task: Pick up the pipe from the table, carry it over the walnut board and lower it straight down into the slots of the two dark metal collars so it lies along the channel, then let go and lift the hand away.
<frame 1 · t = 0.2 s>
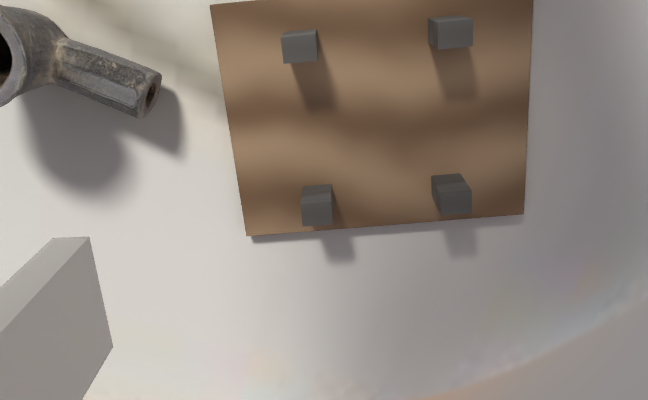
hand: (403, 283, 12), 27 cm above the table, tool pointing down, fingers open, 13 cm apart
collar cradle: (376, 113, 38), on the table
pipe: (71, 51, 37), on the table
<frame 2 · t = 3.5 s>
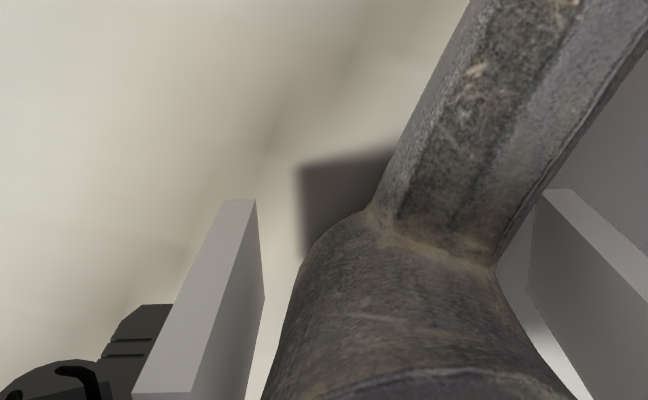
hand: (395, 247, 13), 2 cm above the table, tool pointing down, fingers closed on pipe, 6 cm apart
pipe: (397, 202, 15), on the table, touching gripper
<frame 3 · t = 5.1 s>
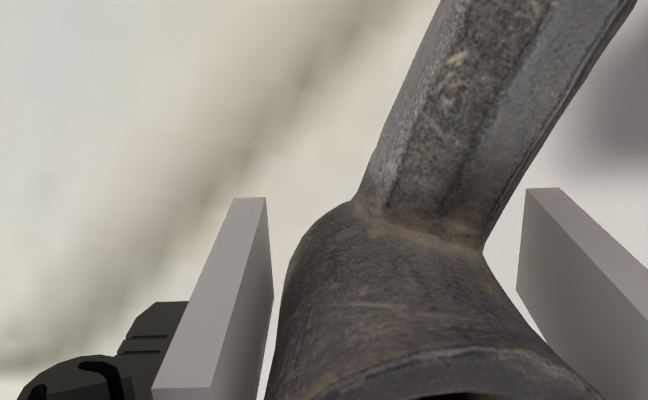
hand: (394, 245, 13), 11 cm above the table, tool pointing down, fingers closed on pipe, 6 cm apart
pipe: (381, 191, 15), point 9 cm above the table, touching gripper
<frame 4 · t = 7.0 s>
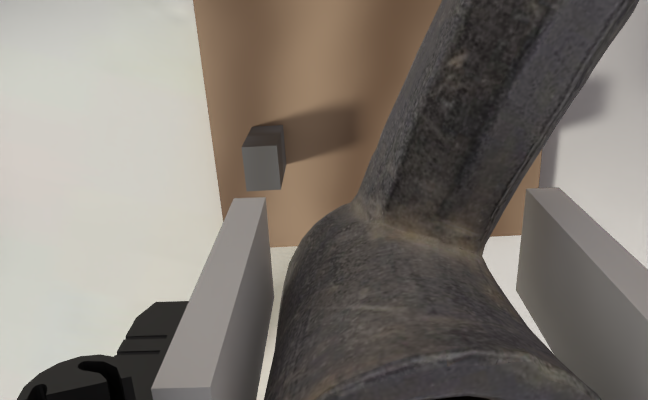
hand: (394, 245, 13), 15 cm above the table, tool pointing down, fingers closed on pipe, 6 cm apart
collar cradle: (373, 42, 26), on the table
pipe: (381, 193, 15), point 13 cm above the table, touching gripper
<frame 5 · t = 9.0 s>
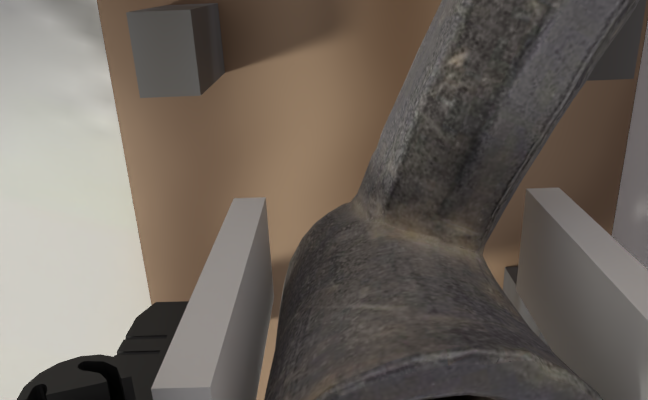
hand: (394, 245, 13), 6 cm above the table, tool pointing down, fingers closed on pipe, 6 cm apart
collar cradle: (372, 166, 19), on the table
pipe: (381, 192, 15), point 4 cm above the table, touching gripper
when the fingers open (3 cm above the table, at t = 10.4 s): pipe stays where it is, resting on collar cradle.
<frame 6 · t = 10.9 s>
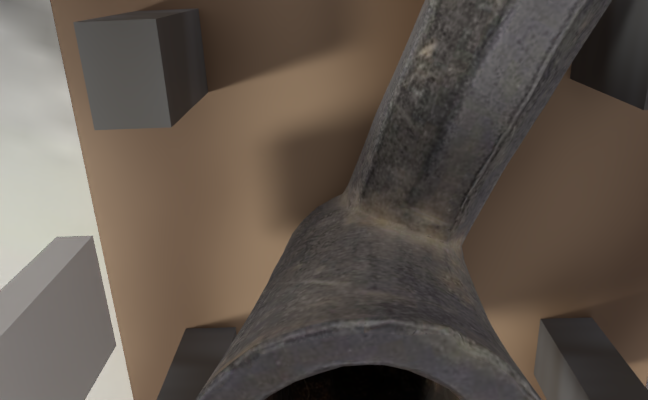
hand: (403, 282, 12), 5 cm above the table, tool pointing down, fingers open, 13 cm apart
collar cradle: (383, 200, 16), on the table
pipe: (379, 188, 15), point 1 cm above the table, touching collar cradle
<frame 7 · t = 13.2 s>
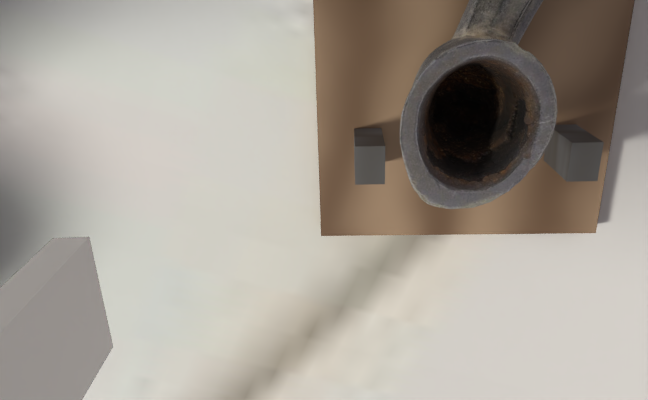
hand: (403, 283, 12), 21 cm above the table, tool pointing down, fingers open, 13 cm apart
collar cradle: (464, 58, 30), on the table
pipe: (465, 44, 29), point 1 cm above the table, touching collar cradle
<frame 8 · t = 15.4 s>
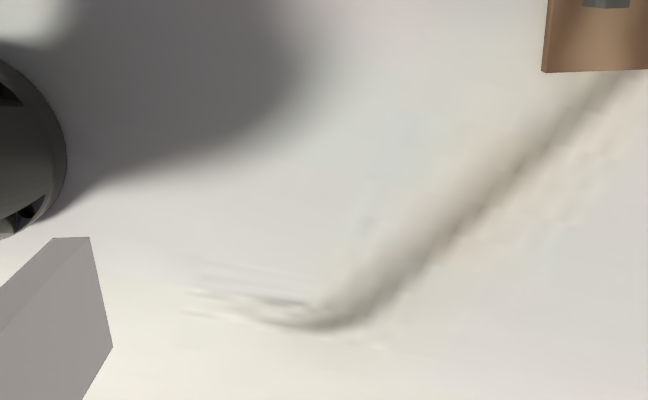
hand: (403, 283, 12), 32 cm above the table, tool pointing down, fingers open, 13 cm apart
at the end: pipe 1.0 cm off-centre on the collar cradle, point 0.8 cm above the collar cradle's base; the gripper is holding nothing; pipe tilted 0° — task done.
